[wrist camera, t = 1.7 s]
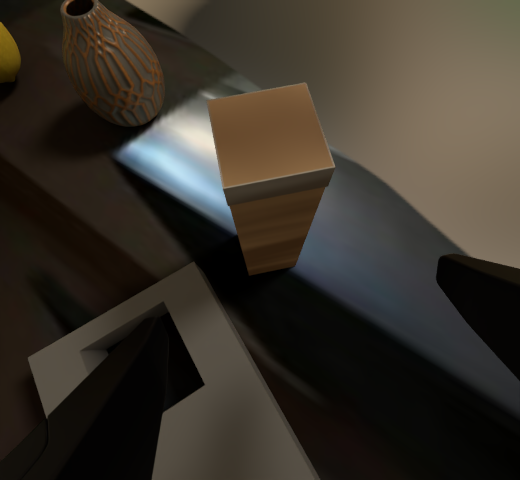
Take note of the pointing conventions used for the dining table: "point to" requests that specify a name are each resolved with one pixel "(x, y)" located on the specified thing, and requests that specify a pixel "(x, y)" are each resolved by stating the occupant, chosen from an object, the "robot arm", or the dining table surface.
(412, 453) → the dining table surface
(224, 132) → the wooden square peg
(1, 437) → the dining table surface
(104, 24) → the vase
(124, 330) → the block with square hole
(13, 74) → the lemon
